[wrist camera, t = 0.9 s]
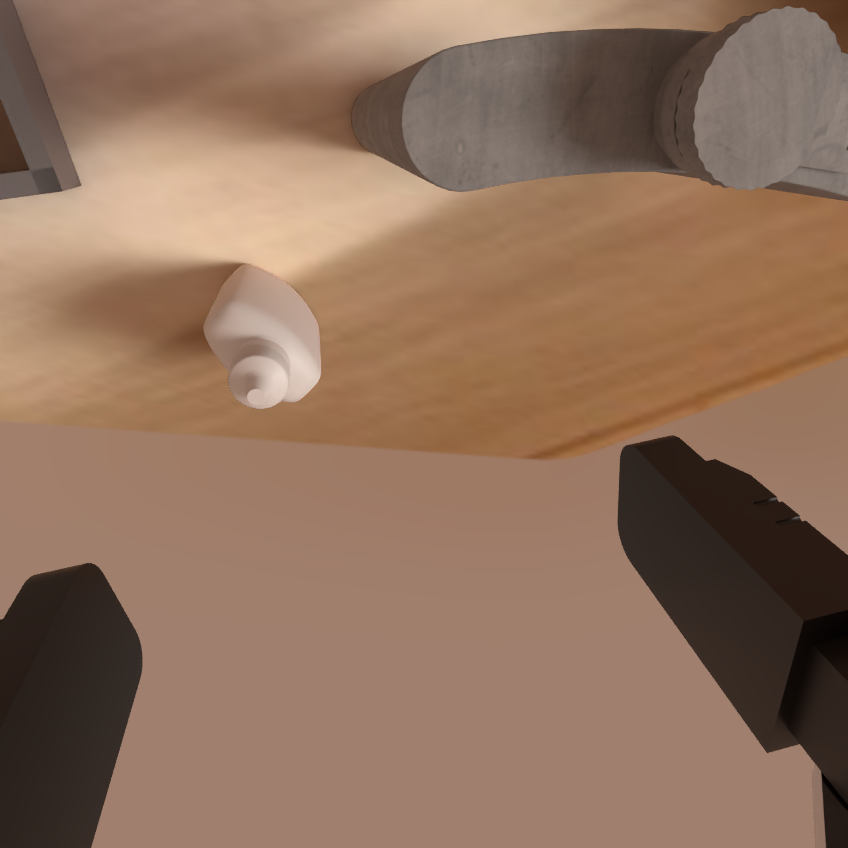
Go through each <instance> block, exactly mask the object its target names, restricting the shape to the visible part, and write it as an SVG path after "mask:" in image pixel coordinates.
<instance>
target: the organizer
mask: <svg viewBox="0 0 848 848" xmlns="http://www.w3.org/2000/svg"><path fill="white" fill-rule="evenodd" d="M0 99H1V101H2V104H3V106H4V109H5V111H6V114H7V116H8V118H9V121H10V123H11V126H12V128H13V131H14V133H15V136H16V138H17V140H18V143H19V145H20V148H21V150H22V153H23V155H24V158H25V160H26V162H27V165H28V167H29V169H27V170H19V171H12V172H4V173H0V200H2V199H9V198H16V197H24V196H31V195H38V194H46V193H53V192H60V191H65V190H68V189H72V188H75V187H78V186H81V183H80V180H79V178H78V175H77V172H76V170H75V167H74V164H73V162H72V159H71V156H70V154H69V151H68V148H67V146H66V143H65V140H64V138H63V135H62V132H61V130H60V127H59V124H58V122H57V119H56V116H55V114H54V111H53V108H52V106H51V103H50V100H49V98H48V95H47V92H46V89H45V87H44V84H43V81H42V79H41V76H40V73H39V71H38V68H37V65H36V63H35V60H34V57H33V55H32V52H31V49H30V47H29V44H28V41H27V39H26V36H25V33H24V31H23V28H22V25H21V23H20V20H19V17H18V15H17V12H16V9H15V7H14V4H13V1H12V0H0Z"/></svg>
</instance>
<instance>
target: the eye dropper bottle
mask: <svg viewBox="0 0 848 848" xmlns="http://www.w3.org/2000/svg"><path fill="white" fill-rule="evenodd" d="M203 329H204V335H205V337H206V339H207V342H208V344H209V345H210V347H211V349H212V351H213V352H214V354H215V355H216V357H217V358H218V360H219V361H220V362H221V363H222V365H223V366H224V367H225V368H226V369H227V370H228V371H229V375H228V383H229V385H228V386H229V389H230V391H231V392H232V394H233V396H234V397H235V399H237V401H240V403H242V404H244V405H245V406H248V407H251V408H254V409H255V408H257V409H262V408H263V409H264V408H268V407H269V408H270V407H273V405H276V404H278V402H280V401H284V402H296V401H298V400H300V399H301V398H303V397H304V396H305V395H306V394H307V393H308V392H309V391H310V390H311V389H312V388H313V387H314V386H315V385H316V384H317V382H318V381H319V379H320V376H321V357H320V339H319V327H318V324H317V322H316V319H315V317H314V315H313V314H312V312H311V310H310V309H309V307H308V306H307V304H306V303H305V301H304V300H303V299H302V298H301V297H300V295H299V294H298V293H297V292H296V291H295V290H294V289H293V288H292V287H290V286H289V285H288V284H287V283H286V282H284V281H283V280H281V279H280V278H278V277H277V276H275V275H273V274H272V273H270V272H268V271H266V270H264V269H261V268H259V267H257V266H253V265H250V264H243V265H242V266H240V267H238V268H237V269H236V270H235V271H234V272H233V274H232V275H231V276H230V277H229V278H228V279H227V280H226V281H225V282H224V284H223V285H222V287H221V289H220V291H219V293H218V295H217V297H216V299H215V301H214V303H213V305H212V307H211V309H210V311H209V313H208V316H207V318H206V320H205V323H204V325H203Z"/></svg>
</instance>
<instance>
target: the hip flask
mask: <svg viewBox="0 0 848 848" xmlns="http://www.w3.org/2000/svg"><path fill="white" fill-rule="evenodd" d="M351 123H352V128H353V132H354V134H355V136H356V138H357V140H358V141H359V143H360V144H361V145H362V146H363V147H364V148H365V149H367V150H368V151H370V152H372V153H374V154H376V155H378V156H380V157H382V158H384V159H385V160H387V161H389V162H391V163H393V164H395V165H397V166H399V167H401V168H403V169H405V170H407V171H409V172H411V173H413V174H415V175H417V176H418V177H420V178H422V179H424V180H426V181H428V182H430V183H432V184H434V185H436V186H438V187H441V188H443V189H446V190H449V191H458V192H465V191H474V190H479V189H484V188H489V187H494V186H499V185H504V184H509V183H515V182H522V181H528V180H535V179H541V178H549V177H559V176H569V175H579V174H594V173H610V172H660V173H666V174H673V175H680V176H686V177H693V178H699V179H701V180H702V181H708V182H709V183H710V184H711V185H720V186H722V187H724V188H727V187H733V188H735V189H737V190H740V189H747V190H753V189H755V188H765V189H772V190H778V191H785V192H791V193H798V194H804V195H811V196H818V197H824V198H831V199H837V200H844V201H848V54H847V53H843V52H841V48H840V46H839V45H838V43H837V40H836V35H835V33H834V32H833V31H831V30H830V28H829V25H828V23H827V22H826V21H824V20H822V19H821V18H820V17H819V16H818V14H817V13H815V12H808V11H807V10H806V9H805V8H793V7H790V6H787V7H784V8H782V9H775V8H773V9H771V10H769V11H767V12H765V13H762V12H757V13H755V14H753V15H751V16H743V17H741V18H739V19H738V20H737V21H736V22H734V23H731V24H728V25H726V27H725V28H724V29H723V30H721V31H718V32H705V31H692V30H675V29H642V28H633V29H593V30H577V31H562V32H548V33H540V34H532V35H524V36H516V37H508V38H500V39H494V40H488V41H482V42H476V43H471V44H465V45H459V46H454V47H451V48H448V49H445V50H442V51H440V52H438V53H436V54H434V55H432V56H430V57H428V58H426V59H424V60H422V61H420V62H418V63H416V64H414V65H412V66H410V67H408V68H406V69H404V70H402V71H400V72H398V73H396V74H394V75H392V76H390V77H388V78H386V79H384V80H382V81H380V82H378V83H376V84H374V85H372V86H370V87H368V88H367V89H365V90H364V91H363V92H362V93H361V94H360V95H359V96H358V97H357V99H356V101H355V103H354V105H353V109H352V113H351Z"/></svg>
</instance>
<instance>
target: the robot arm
mask: <svg viewBox="0 0 848 848" xmlns="http://www.w3.org/2000/svg"><path fill="white" fill-rule="evenodd" d="M618 531H619V536H620V540H621V543H622V546H623V549H624V551H625V553H626V555H627V557H628V559H629V560H630V562H631V563H632V565H633V566H634V568H635V569H636V570H637V572H638V573H639V575H640V576H641V577H642V579H643V580H644V582H645V583H646V584H647V586H648V587H649V589H650V590H651V591H652V593H653V594H654V595H655V597H656V598H657V600H658V601H659V603H660V604H661V605H662V607H663V608H664V610H665V611H666V612H667V614H668V615H669V616H670V618H671V619H672V621H673V622H674V624H675V625H676V626H677V628H678V629H679V630H680V632H681V633H682V635H683V636H684V638H685V639H686V640H687V642H688V643H689V645H690V646H691V647H692V649H693V650H694V651H695V653H696V654H697V656H698V657H699V658H700V660H701V661H702V663H703V664H704V665H705V667H706V668H707V670H708V671H709V672H710V674H711V675H712V677H713V678H714V679H715V681H716V682H717V683H718V685H719V686H720V688H721V689H722V690H723V692H724V693H725V695H726V696H727V698H728V699H729V700H730V702H731V703H732V705H733V706H734V707H735V709H736V710H737V712H738V713H739V714H740V716H741V717H742V719H743V720H744V721H745V723H746V724H747V725H748V727H749V728H750V730H751V731H752V733H753V734H754V735H755V737H756V738H757V740H758V741H759V742H760V744H761V745H762V747H763V748H764V749H765V751H766V752H767V753H769V752H773V751H775V750H780V749H783V748H787V747H790V746H794V745H798V744H800V745H801V746H802V747H803V749H804V750H805V751H806V752H807V754H808V755H809V756H810V757H811V759H812V760H813V761H814V763H815V766H814V769H813V772H812V792H813V810H814V812H813V813H814V831H815V848H848V555H847V554H845V553H844V552H843V551H842V550H841V549H839V548H838V547H837V546H836V545H835V544H833V543H832V542H831V541H830V540H829V539H827V538H826V537H825V536H824V535H822V534H821V533H820V532H819V531H817V530H816V529H815V528H814V527H812V526H811V525H810V524H809V523H808V522H807V521H803V522H802V521H801V519H800V516H799V515H798V514H797V513H796V512H795V511H793V510H792V509H791V508H790V507H789V506H787V505H786V504H785V503H784V502H778V500H777V497H776V496H775V495H774V494H773V493H772V492H770V491H769V490H768V489H767V488H765V487H764V486H763V485H762V484H760V483H759V482H758V481H757V480H756V479H755V478H753V477H752V476H751V475H749V474H747V473H745V472H743V471H740V470H738V469H736V468H734V467H731V466H729V465H727V464H725V463H722V462H720V461H718V460H716V459H714V460H710V461H705V460H704V459H703V458H702V457H700V456H699V455H698V454H697V453H696V452H695V451H694V450H693V449H691V448H690V447H689V446H688V445H687V444H686V443H684V441H682V440H681V439H680V438H678V437H676V436H667V437H663V438H658V439H653V440H649V441H644V442H640V443H635V444H631V445H626V446H625V447H624V448H623V450H622V452H621V456H620V474H619V500H618ZM141 672H142V650H141V644H140V640H139V637H138V634H137V633H136V630H135V629H134V627H133V625H132V623H131V622H130V620H129V618H128V617H127V615H126V613H125V611H124V609H123V607H122V606H121V604H120V602H119V600H118V599H117V597H116V595H115V593H114V592H113V590H112V588H111V586H110V585H109V583H108V581H107V579H106V577H105V576H104V574H103V572H102V571H101V570H100V569H99V567H97V566H96V565H95V564H92V563H86V564H82V565H77V566H73V567H68V568H64V569H59V570H55V571H51V572H46V573H41V574H37V575H33V576H31V577H30V578H29V579H28V580H27V581H26V582H25V583H24V585H23V586H22V588H21V590H20V592H19V593H18V595H17V596H16V598H15V600H14V602H13V603H12V605H11V607H10V608H9V610H8V612H7V613H6V615H5V617H4V618H3V619H1V620H0V848H91V846H92V842H93V839H94V835H95V832H96V829H97V825H98V822H99V818H100V815H101V811H102V808H103V805H104V801H105V798H106V794H107V791H108V788H109V784H110V781H111V777H112V774H113V770H114V767H115V763H116V760H117V757H118V753H119V750H120V746H121V743H122V739H123V736H124V733H125V729H126V726H127V722H128V718H129V715H130V712H131V708H132V705H133V702H134V698H135V694H136V691H137V688H138V684H139V681H140V677H141Z"/></svg>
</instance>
